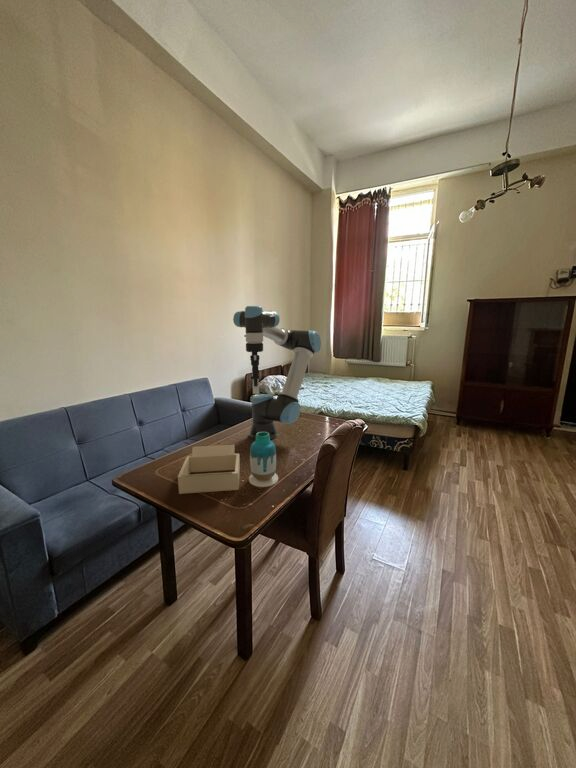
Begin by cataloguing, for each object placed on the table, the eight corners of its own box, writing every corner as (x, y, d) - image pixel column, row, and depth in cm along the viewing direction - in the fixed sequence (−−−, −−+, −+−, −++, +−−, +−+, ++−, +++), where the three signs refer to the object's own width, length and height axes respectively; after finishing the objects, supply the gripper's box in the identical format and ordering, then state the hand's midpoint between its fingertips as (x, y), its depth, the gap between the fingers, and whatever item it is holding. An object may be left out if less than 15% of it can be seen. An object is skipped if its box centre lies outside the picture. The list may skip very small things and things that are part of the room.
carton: (189, 467, 138) (187, 446, 136) (240, 464, 141) (239, 444, 139) (176, 499, 114) (174, 475, 112) (238, 495, 116) (237, 471, 114)
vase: (270, 486, 121) (269, 440, 117) (246, 482, 124) (244, 437, 120) (280, 474, 131) (279, 430, 127) (257, 469, 134) (256, 427, 130)
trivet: (248, 472, 133) (248, 471, 133) (276, 471, 134) (276, 469, 134) (248, 488, 121) (248, 486, 121) (279, 486, 123) (279, 484, 123)
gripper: (246, 340, 148) (247, 383, 152) (245, 345, 123) (247, 397, 128) (261, 340, 149) (262, 383, 153) (264, 345, 124) (265, 396, 129)
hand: (255, 389), depth 141 cm, fingers open, 13 cm apart
